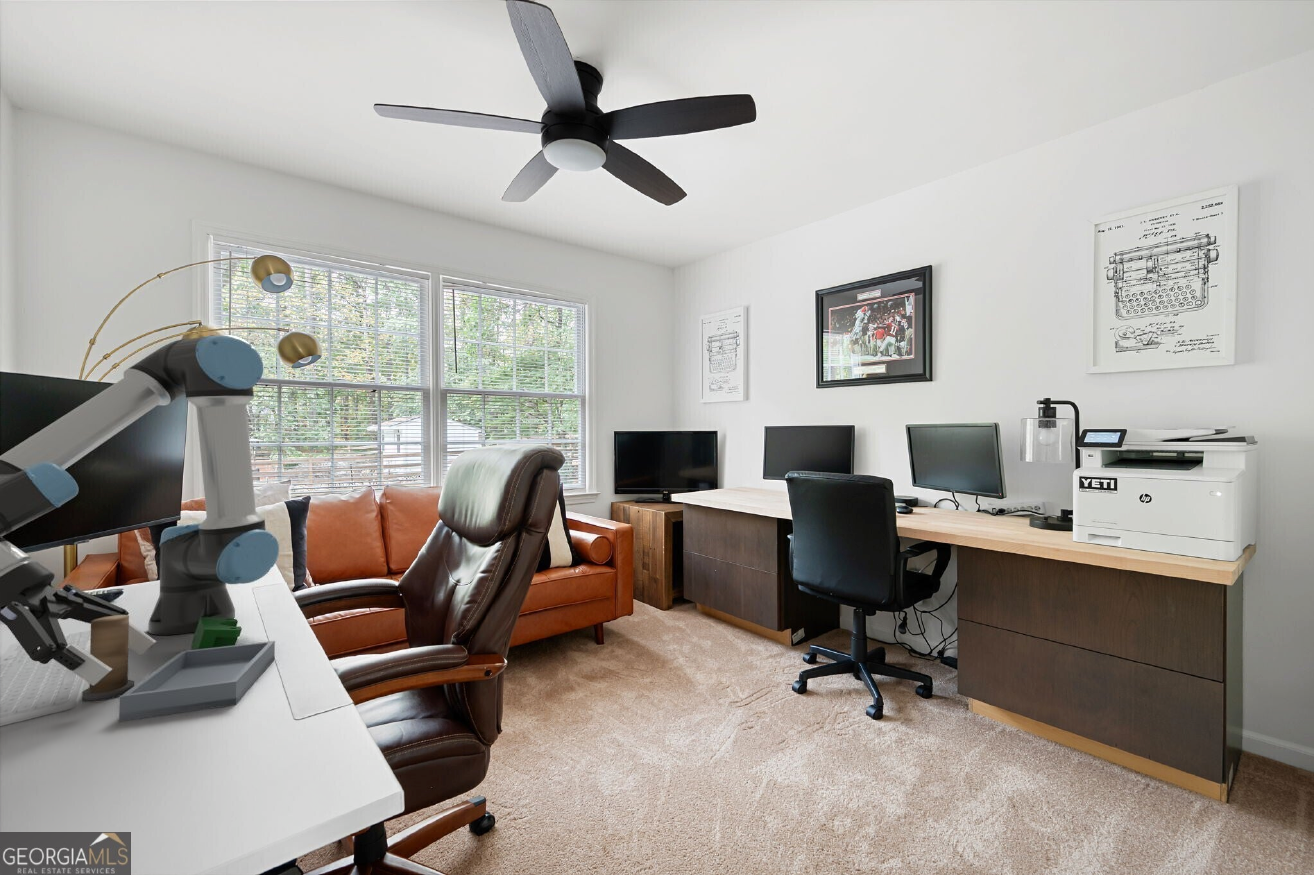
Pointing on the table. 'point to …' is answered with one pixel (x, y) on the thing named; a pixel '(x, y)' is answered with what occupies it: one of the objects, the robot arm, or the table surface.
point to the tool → (110, 657)
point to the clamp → (215, 633)
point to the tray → (198, 681)
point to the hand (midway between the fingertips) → (127, 661)
